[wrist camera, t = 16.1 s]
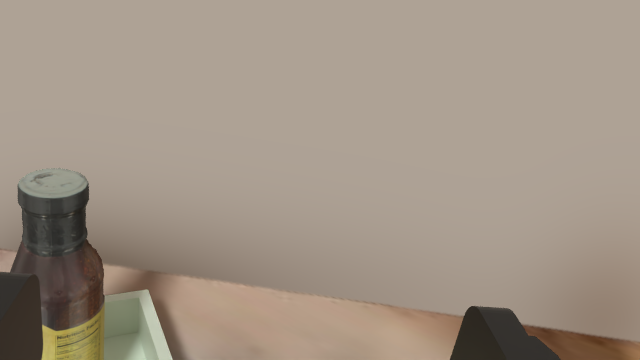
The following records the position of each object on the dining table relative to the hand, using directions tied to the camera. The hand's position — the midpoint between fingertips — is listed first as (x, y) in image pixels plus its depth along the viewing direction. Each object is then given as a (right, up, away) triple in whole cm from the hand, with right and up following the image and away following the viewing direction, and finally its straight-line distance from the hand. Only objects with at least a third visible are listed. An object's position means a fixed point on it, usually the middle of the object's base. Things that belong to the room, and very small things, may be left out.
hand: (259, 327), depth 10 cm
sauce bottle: (-19, -15, +33) cm, 41 cm away
